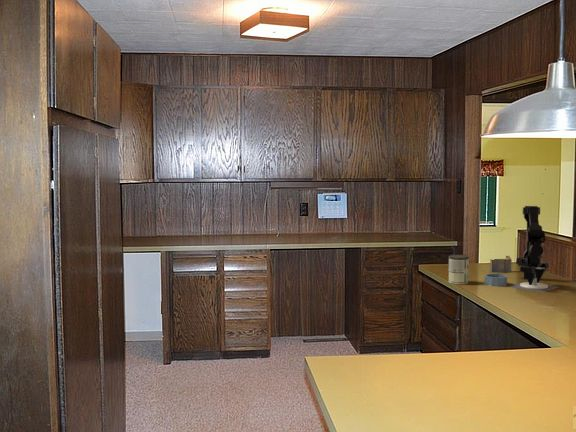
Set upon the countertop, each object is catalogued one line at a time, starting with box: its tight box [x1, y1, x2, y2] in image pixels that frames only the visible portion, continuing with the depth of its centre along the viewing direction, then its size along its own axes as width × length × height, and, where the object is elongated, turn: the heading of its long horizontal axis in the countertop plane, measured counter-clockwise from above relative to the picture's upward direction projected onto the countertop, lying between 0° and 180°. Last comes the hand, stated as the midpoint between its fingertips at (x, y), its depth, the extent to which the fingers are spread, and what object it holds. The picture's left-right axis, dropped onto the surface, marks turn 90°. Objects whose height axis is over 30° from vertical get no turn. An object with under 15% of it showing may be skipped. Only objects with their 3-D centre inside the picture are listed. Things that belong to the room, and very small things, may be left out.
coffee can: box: [448, 254, 470, 285], centre depth 314 cm, size 10×10×14 cm
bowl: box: [483, 273, 508, 287], centre depth 307 cm, size 11×11×5 cm
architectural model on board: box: [489, 255, 512, 273], centre depth 342 cm, size 11×3×10 cm, turn 91°
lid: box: [519, 277, 549, 290], centre depth 298 cm, size 13×13×4 cm
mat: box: [508, 281, 560, 293], centre depth 299 cm, size 18×18×1 cm
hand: (533, 283), depth 299 cm, fingers open, 7 cm apart
